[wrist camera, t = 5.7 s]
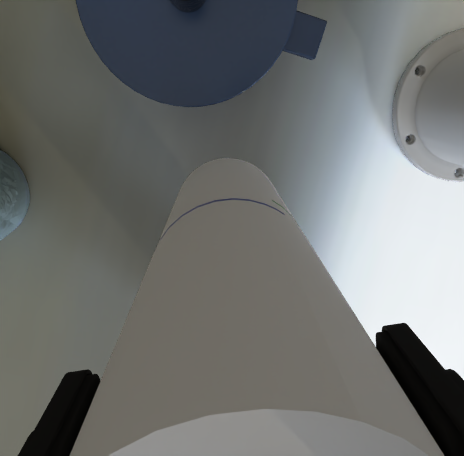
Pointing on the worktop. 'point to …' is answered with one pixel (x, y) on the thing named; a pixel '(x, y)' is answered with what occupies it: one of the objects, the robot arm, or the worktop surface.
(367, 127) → the worktop surface
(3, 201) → the grey green cup
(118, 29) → the pot lid
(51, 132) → the worktop surface
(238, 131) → the worktop surface
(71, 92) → the worktop surface
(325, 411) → the cylindrical container
